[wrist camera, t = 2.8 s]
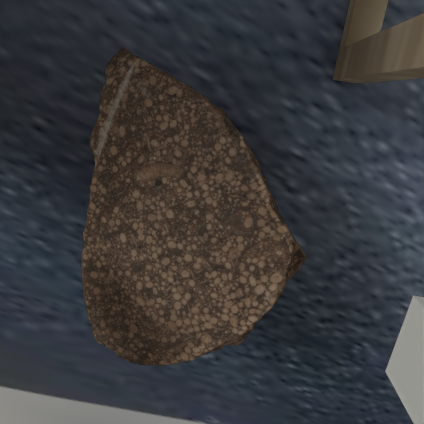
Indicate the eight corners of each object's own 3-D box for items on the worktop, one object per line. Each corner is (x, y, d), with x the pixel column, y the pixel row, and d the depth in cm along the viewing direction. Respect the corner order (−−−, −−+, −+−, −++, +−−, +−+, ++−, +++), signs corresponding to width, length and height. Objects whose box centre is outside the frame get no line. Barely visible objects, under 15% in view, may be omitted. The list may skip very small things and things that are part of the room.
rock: (54, 60, 14) (261, -22, 8) (208, 105, 22) (371, 81, 16) (61, 342, 15) (242, 461, 9) (204, 288, 23) (353, 332, 17)
